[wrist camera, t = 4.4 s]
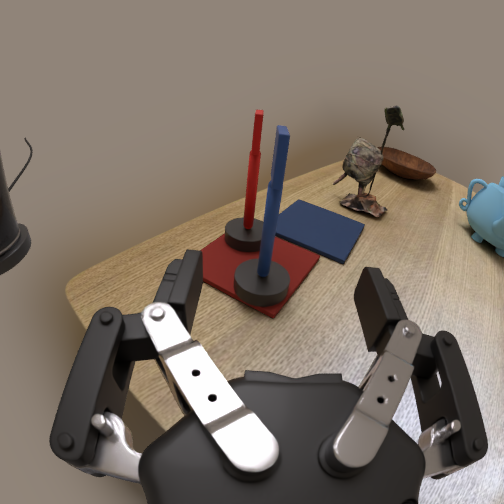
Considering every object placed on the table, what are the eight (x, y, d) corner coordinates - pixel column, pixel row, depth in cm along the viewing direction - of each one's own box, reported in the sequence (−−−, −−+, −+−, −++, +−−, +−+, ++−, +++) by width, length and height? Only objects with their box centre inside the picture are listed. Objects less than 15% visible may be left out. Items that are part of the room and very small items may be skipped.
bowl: (359, 166, 72) (363, 149, 69) (383, 157, 86) (386, 144, 83) (425, 195, 62) (430, 177, 59) (435, 180, 76) (440, 166, 73)
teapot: (485, 223, 55) (504, 175, 47) (528, 270, 39) (554, 216, 31) (445, 213, 54) (464, 158, 46) (491, 266, 39) (522, 200, 30)
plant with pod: (346, 189, 56) (366, 96, 44) (391, 214, 49) (420, 113, 38) (322, 196, 52) (342, 90, 40) (371, 224, 45) (402, 108, 33)
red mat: (180, 268, 32) (179, 264, 31) (240, 225, 40) (240, 222, 40) (273, 318, 27) (274, 314, 27) (319, 259, 36) (320, 255, 35)
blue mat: (262, 230, 40) (262, 226, 40) (297, 202, 48) (298, 199, 48) (343, 264, 35) (344, 260, 35) (363, 227, 44) (364, 224, 43)
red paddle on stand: (221, 249, 34) (229, 113, 25) (227, 225, 39) (235, 106, 30) (268, 254, 34) (288, 119, 25) (268, 229, 39) (284, 111, 30)
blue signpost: (231, 304, 27) (243, 133, 18) (236, 267, 32) (248, 119, 23) (288, 309, 28) (326, 143, 18) (286, 272, 32) (313, 127, 23)
